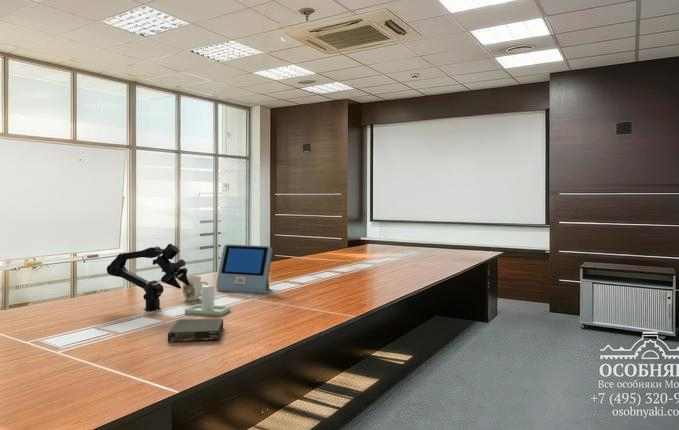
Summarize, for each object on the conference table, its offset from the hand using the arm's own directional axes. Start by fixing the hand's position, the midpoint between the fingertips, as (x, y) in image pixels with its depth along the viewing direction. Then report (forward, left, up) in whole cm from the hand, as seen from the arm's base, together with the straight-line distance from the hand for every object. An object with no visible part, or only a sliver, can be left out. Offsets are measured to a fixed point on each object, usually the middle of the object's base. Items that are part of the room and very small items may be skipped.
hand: (184, 286), depth 245 cm
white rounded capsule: (+4, -12, -12) cm, 18 cm away
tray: (+4, -12, -13) cm, 19 cm away
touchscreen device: (+60, +10, -14) cm, 63 cm away
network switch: (-27, -37, -14) cm, 48 cm away
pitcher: (+22, +18, -13) cm, 32 cm away
